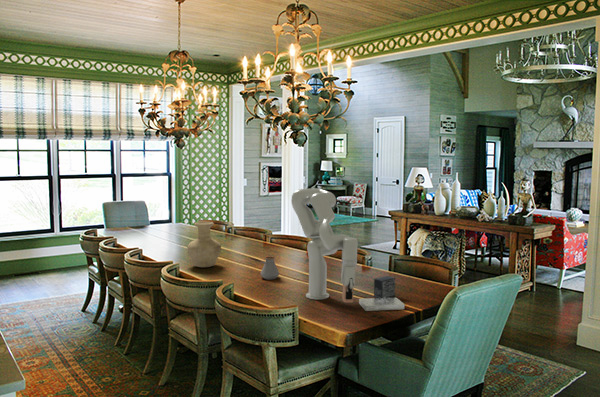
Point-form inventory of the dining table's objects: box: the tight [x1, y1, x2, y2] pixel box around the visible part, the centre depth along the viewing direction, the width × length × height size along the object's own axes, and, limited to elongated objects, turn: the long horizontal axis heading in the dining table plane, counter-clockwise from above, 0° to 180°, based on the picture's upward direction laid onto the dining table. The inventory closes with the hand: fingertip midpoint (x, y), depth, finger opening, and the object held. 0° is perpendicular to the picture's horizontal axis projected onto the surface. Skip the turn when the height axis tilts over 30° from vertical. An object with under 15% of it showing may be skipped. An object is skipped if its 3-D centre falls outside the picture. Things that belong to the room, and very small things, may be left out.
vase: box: [186, 221, 222, 268], centre depth 332 cm, size 22×22×30 cm
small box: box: [373, 275, 396, 298], centre depth 266 cm, size 11×6×10 cm, turn 129°
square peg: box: [341, 283, 355, 303], centre depth 247 cm, size 4×4×9 cm
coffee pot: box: [248, 256, 280, 281], centre depth 300 cm, size 21×12×15 cm, turn 131°
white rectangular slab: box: [358, 296, 405, 312], centre depth 249 cm, size 12×20×2 cm, turn 99°
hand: (347, 297), depth 247 cm, fingers closed on square peg, 4 cm apart
